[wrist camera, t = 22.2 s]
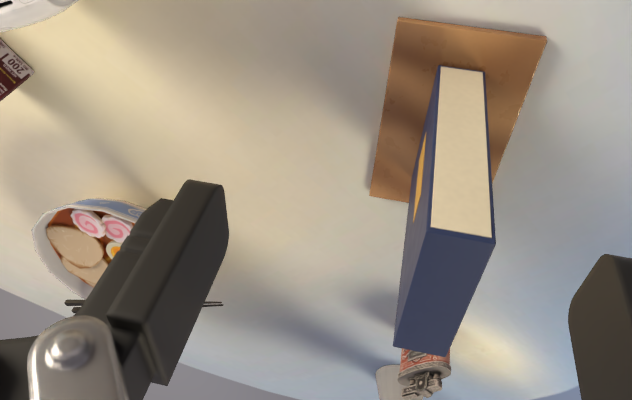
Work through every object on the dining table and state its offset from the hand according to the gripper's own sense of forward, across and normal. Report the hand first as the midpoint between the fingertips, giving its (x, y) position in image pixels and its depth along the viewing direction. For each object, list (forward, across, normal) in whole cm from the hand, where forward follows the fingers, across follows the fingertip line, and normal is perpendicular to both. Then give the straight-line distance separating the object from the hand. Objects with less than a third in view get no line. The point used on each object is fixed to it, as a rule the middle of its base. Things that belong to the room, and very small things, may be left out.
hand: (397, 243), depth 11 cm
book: (+23, -4, +26) cm, 35 cm away
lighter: (+34, -9, +54) cm, 65 cm away
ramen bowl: (+34, +31, +44) cm, 64 cm away
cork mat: (+34, -4, +20) cm, 40 cm away
